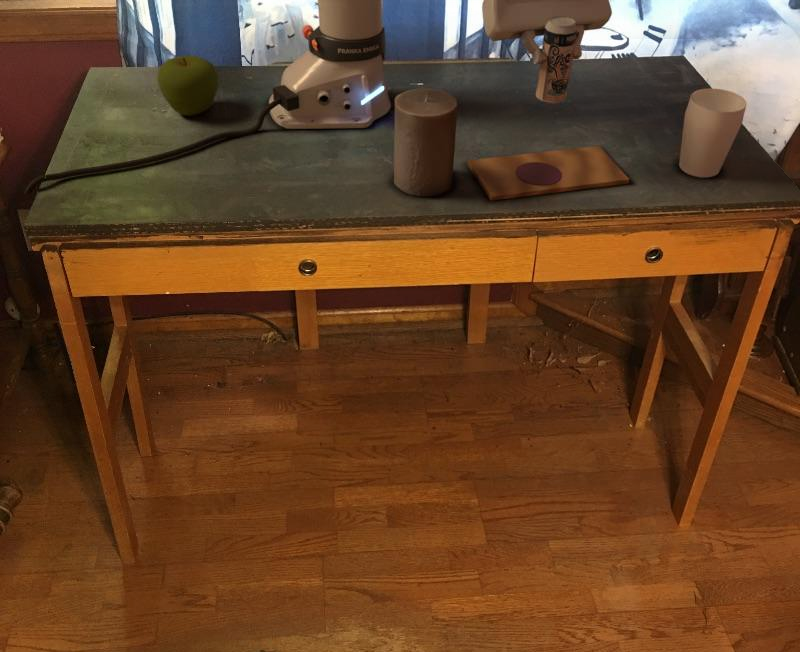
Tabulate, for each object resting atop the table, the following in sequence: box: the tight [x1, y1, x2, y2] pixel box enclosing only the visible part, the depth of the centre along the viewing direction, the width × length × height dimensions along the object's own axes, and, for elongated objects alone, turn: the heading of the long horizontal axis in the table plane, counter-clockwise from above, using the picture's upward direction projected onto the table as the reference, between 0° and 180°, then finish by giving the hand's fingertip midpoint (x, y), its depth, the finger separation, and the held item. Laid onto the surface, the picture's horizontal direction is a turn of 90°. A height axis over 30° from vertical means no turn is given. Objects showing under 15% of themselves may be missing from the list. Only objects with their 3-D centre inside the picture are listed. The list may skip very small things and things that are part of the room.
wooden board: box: [467, 145, 630, 201], centre depth 142 cm, size 24×12×1 cm, turn 105°
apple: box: [157, 55, 219, 117], centre depth 153 cm, size 11×10×10 cm
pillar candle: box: [393, 88, 458, 198], centre depth 135 cm, size 10×10×15 cm
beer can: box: [535, 16, 577, 105], centre depth 132 cm, size 5×5×12 cm
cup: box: [678, 87, 747, 178], centre depth 141 cm, size 9×9×12 cm
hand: (558, 60), depth 131 cm, fingers closed on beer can, 5 cm apart
